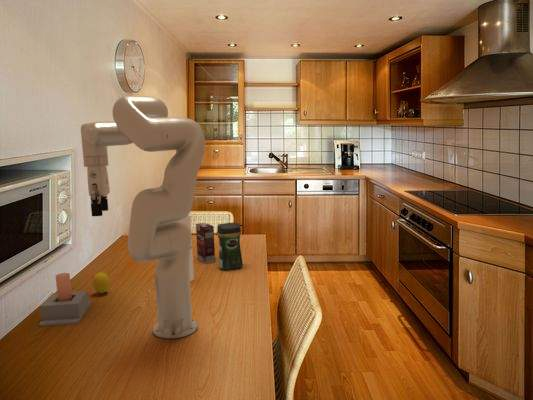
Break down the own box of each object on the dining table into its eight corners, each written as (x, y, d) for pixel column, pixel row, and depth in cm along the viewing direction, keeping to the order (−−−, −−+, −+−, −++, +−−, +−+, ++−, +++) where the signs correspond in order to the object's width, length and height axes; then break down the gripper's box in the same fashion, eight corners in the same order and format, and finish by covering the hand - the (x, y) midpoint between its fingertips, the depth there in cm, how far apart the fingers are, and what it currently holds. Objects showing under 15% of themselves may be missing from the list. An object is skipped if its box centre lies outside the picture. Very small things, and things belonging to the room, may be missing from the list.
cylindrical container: (189, 283, 172) (186, 217, 168) (171, 282, 174) (167, 216, 170) (196, 277, 179) (193, 213, 175) (179, 276, 181) (175, 213, 177)
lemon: (104, 289, 167) (102, 268, 166) (113, 293, 164) (111, 271, 162) (90, 294, 163) (88, 272, 162) (99, 297, 160) (97, 275, 158)
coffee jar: (239, 263, 195) (237, 220, 192) (244, 268, 188) (243, 223, 185) (216, 266, 192) (214, 222, 189) (221, 271, 185) (219, 226, 182)
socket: (77, 323, 139) (75, 306, 138) (38, 326, 138) (37, 309, 137) (91, 303, 154) (89, 288, 154) (56, 305, 153) (55, 290, 152)
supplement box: (196, 259, 203) (195, 223, 201) (206, 257, 206) (205, 222, 203) (205, 263, 196) (203, 227, 193) (215, 261, 198) (214, 225, 196)
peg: (71, 313, 144) (67, 276, 142) (57, 314, 144) (53, 277, 142) (74, 308, 148) (71, 272, 146) (61, 309, 148) (57, 273, 146)
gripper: (102, 163, 143) (107, 217, 146) (112, 159, 160) (116, 208, 163) (77, 164, 142) (82, 218, 145) (90, 160, 159) (94, 209, 162)
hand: (100, 213), depth 154 cm, fingers open, 9 cm apart
